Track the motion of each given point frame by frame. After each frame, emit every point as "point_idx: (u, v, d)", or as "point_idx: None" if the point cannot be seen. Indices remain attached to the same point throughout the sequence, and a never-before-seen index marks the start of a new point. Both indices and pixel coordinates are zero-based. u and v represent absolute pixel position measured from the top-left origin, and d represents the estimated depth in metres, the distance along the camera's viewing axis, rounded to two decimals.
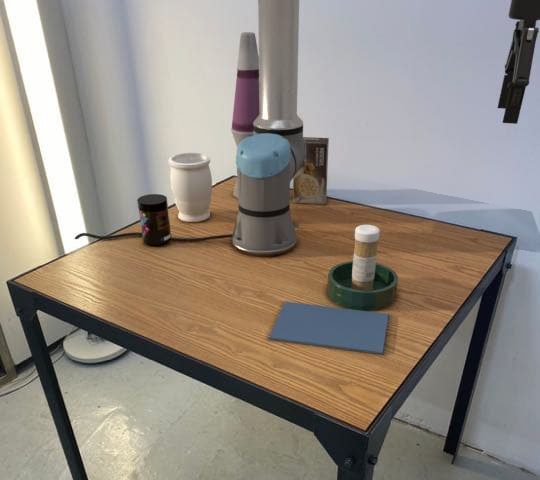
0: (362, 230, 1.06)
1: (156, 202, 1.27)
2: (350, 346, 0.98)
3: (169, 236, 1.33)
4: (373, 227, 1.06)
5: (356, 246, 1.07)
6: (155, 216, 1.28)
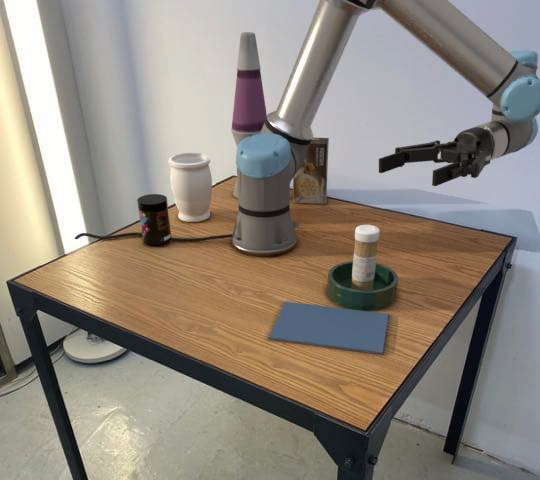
0: (362, 230, 1.06)
1: (156, 202, 1.27)
2: (350, 346, 0.98)
3: (169, 236, 1.33)
4: (373, 227, 1.06)
5: (356, 246, 1.07)
6: (155, 216, 1.28)
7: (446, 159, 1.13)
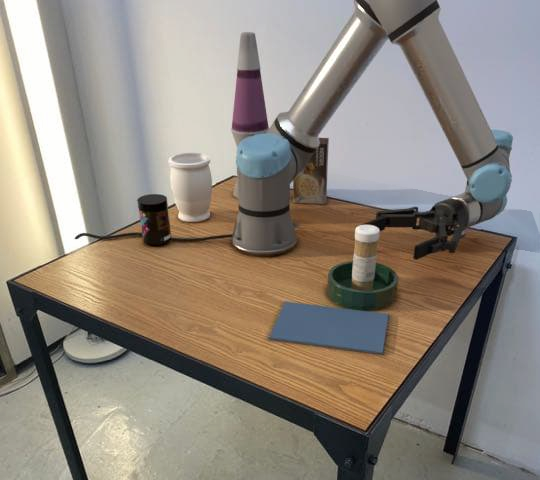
0: (362, 230, 1.06)
1: (156, 202, 1.27)
2: (350, 346, 0.98)
3: (169, 236, 1.33)
4: (373, 227, 1.06)
5: (356, 246, 1.07)
6: (155, 216, 1.28)
7: (424, 228, 1.19)
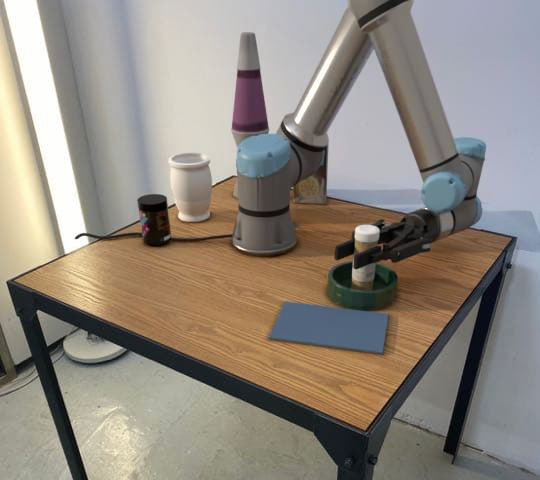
0: (362, 230, 1.06)
1: (156, 202, 1.27)
2: (350, 346, 0.98)
3: (169, 236, 1.33)
4: (373, 227, 1.06)
5: (356, 246, 1.07)
6: (155, 216, 1.28)
7: (393, 240, 1.14)
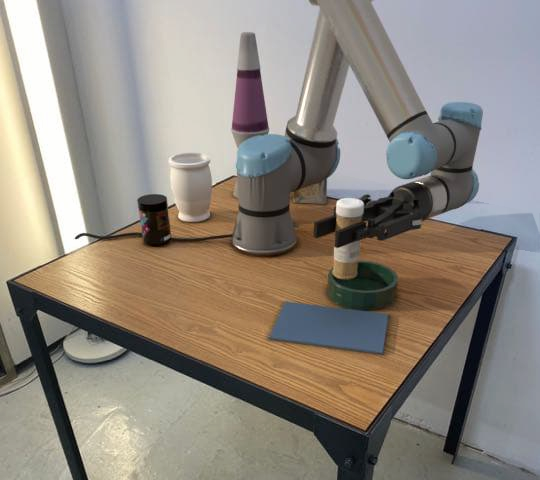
0: (344, 203, 0.93)
1: (156, 202, 1.27)
2: (350, 346, 0.98)
3: (169, 236, 1.33)
4: (356, 200, 0.94)
5: (338, 222, 0.95)
6: (155, 216, 1.28)
7: None
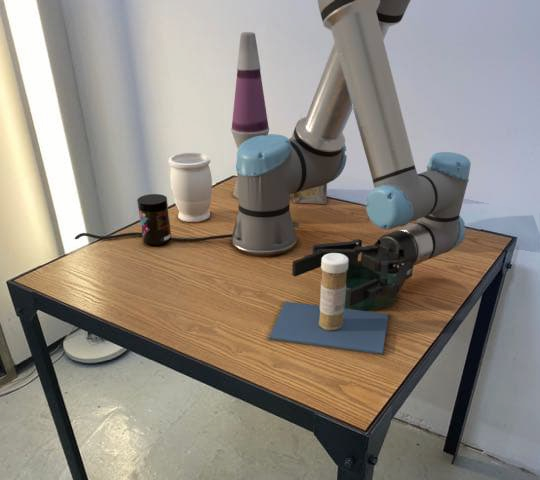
0: (328, 259, 0.95)
1: (156, 202, 1.27)
2: (350, 346, 0.98)
3: (169, 236, 1.33)
4: (341, 256, 0.96)
5: (323, 277, 0.97)
6: (155, 216, 1.28)
7: (366, 265, 1.03)
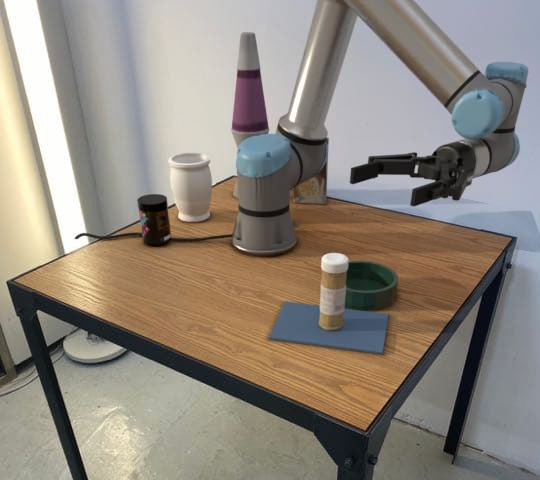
0: (328, 259, 0.95)
1: (156, 202, 1.27)
2: (350, 346, 0.98)
3: (169, 236, 1.33)
4: (341, 256, 0.96)
5: (323, 277, 0.97)
6: (155, 216, 1.28)
7: (424, 175, 1.02)
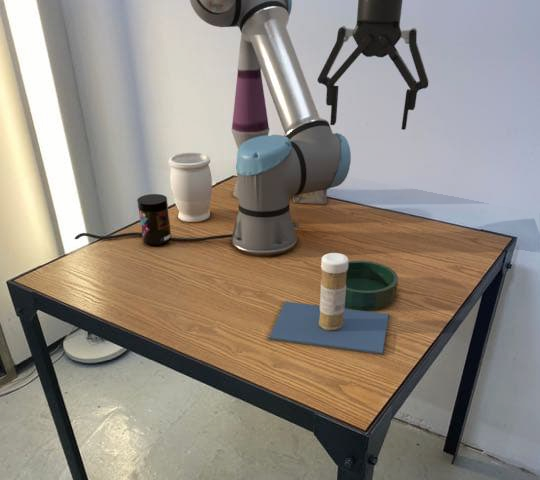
0: (328, 259, 0.95)
1: (156, 202, 1.27)
2: (350, 346, 0.98)
3: (169, 236, 1.33)
4: (341, 256, 0.96)
5: (323, 277, 0.97)
6: (155, 216, 1.28)
7: None
